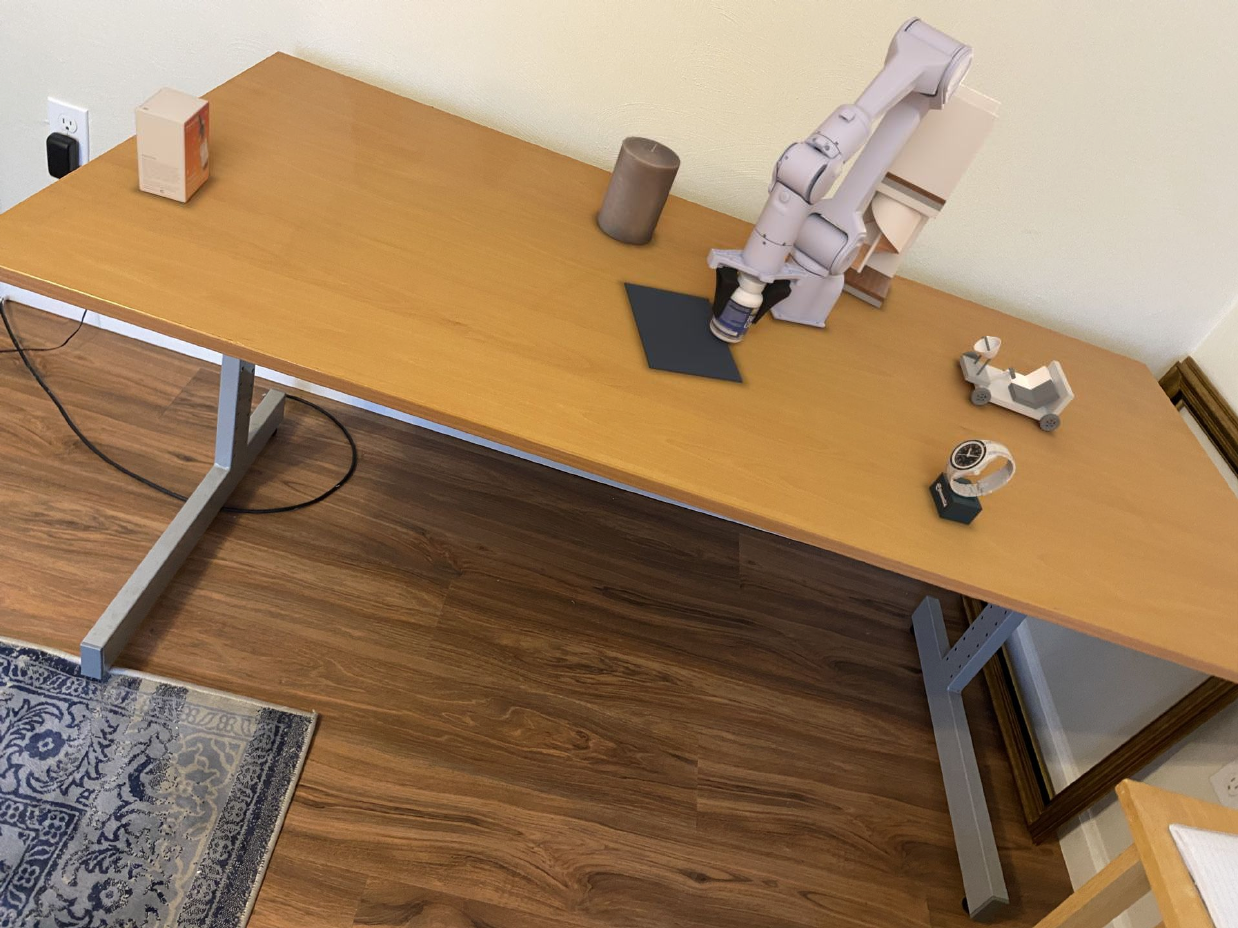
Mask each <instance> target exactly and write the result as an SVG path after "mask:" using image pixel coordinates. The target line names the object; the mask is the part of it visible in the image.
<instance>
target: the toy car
mask: <svg viewBox="0 0 1238 928" xmlns="http://www.w3.org/2000/svg"><path fill="white" fill-rule="evenodd" d="M1001 344H1002V340H1001V338H999V337H997V336H989V335H986V336H982V337H981V339H979V340H978V341H976V342H975V343H974V344H973V349H974V351H973V350H967V351H965V352H963V353H962V354H961V355H960V357H959V359H958V360H959V364H960V367H961V372H962V375H963V377H964V380H965V381H967V382H969V383H972V384H973V385H974V388H975V389H973V390H972V391H971V393H970V400H971V403H973V404H974V405H977V406H984V405H987V404H988V403H989V402H990V403H993V404H995V405H998V406H1001V407H1003V408H1005V409H1009V410H1011V411H1014V412H1016V413H1019V414H1022V415H1024V416H1027V417H1029V418H1032V419H1034V420H1037V421H1038V425H1039V427H1040V429H1041V430H1043V431H1045V432H1052V431H1056V430H1057V429H1058V428H1059V427H1060V426H1061V418H1060V416H1059V415H1060V414H1061V412H1063V411H1064V409H1065V408H1066V407H1067V406H1068V405H1069V404H1070V402H1071V401H1072V400H1073V399H1074V398H1075V395H1074V393H1073V390H1072V388H1071V386H1070V384H1069V381H1068V379H1067V377H1066V375H1065V373H1064V371H1063V368H1062V366H1061V364H1060V362H1059V361H1057V360H1054V359H1052V361H1051V362H1049V364H1048V365H1047V366H1046V365H1043V366H1041V367H1039V368H1038V369H1035V370H1034V371H1032V372H1030V373H1028V374H1027V375H1024V374H1021V373H1018V372H1017V371H1015V369H1014V366H1009V367H1008V368H1006V369H1005V370H1002V369H999V368H997V367H994V366H993V365H990V364H989V362H990V361H991V360H992V359H994V358H995V357H996V356H997V355H998V352H999V351H1000V349H1001V348H1000V347H1001ZM982 357H983V358H984V359H987V360H986V361H985V362H982V361H980V359H981V358H982Z"/></svg>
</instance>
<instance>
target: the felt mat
mask: <svg viewBox="0 0 1238 928" xmlns="http://www.w3.org/2000/svg"><path fill="white" fill-rule="evenodd" d="M624 288H625V291H626V294H627V298H628V301H629V304H630V306H631V310H632V314H633V318H634V321H635V324H636V329H637V331H638V334H639V338H640V341H641V344H642V348H643V351H644V354H645V357H646V361H647V365H648V368H649V369H652V370H657V371H658V370H659V371H665V372H672V373H677V374H684V375H689V376H697V377H704V378H709V379H714V380H715V379H716V380H720V381H721V380H722V381H729V382H734V383H741V384H743V382H744V381H743V377H742V376H741V373H740V371H739V369H738V365H737V364H736V361H735V359H734V356H733V354H732V352H731V349H730V346H729V344H728V342H727V341H724V340H722V339H720V338H718V337H717V336H716V335H715V334H714V333H713V332H712V331H711V328H710V323H711V320H712V318H713V316H714V313H713V311H712V306H713V304H712V303H711V300H710V298H707V297H703V296H696V295H692V294H687V293H682V292H677V291H671V290H666V289H662V288H656V287H651V286H647V285H640V284H635V283H632V282H631V283H630V282H625V281H624Z"/></svg>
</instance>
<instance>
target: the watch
mask: <svg viewBox="0 0 1238 928" xmlns="http://www.w3.org/2000/svg"><path fill="white" fill-rule="evenodd" d="M998 456H999V457H1003V458H1006V459H1007V460H1006V464H1005V465H1004V466H1003V467H1001V469H997V470H995V471H993V472H992V473H990V474H989V475H987V476H985V477H983V478H980V479H978V480H976V483H973V482H972V480H971V479H969V478H965V476H973V475H974V476H979V475H980V474H981V472H982V471H983V470H984V469H985V468H986V467H987V466H988V464H990V463H991V462H993V461H995V460H997V459H998ZM1016 466H1017V465H1016V462H1015V460H1014V458H1013V455H1012V454H1011V452H1010V450H1009V448H1008V447H1007V446H1006V445H1004V444H1002V443H1001V442H998V441H993V440H989V439H978V438H971V439H967V440H965V441H962V442H960V443H959V444H957V445H956V446H955V447H954V448H953V449H952V451H951V452H950V455H949V457H948V459H947V460H946V465H945V471H944V472H942V471H941V473H940V474H939V475H938V476H937V478H936V479H935V480H934V481H933V482H932V484H931V485H930V486H929V487H928V488H929V491H930V494H931V497H932V500H933V502H934V505H935V508H936V511H937V513H938V516H939V518H940V519H944V520H948V521H952V522H956V523H959V524H963V525H966V526H969V525H971V523H972V522H973V521H974V520H975V519H976V518H977V516H978V515H980V513H981V512H982V511H983V509H984V508H983V506H982V503H981V501H980V499H979V497H980V496H981V497H984V496H987V495H989V494H992V493H994V492H996V491H997V490H999V489H1001V488H1003V487H1005V486H1006V485H1007V484H1008V483H1010V482H1009V481H1010V480H1011V479H1012V478H1013V477H1014V474H1015V473H1016V468H1017V467H1016Z"/></svg>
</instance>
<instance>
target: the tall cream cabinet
mask: <svg viewBox="0 0 1238 928" xmlns="http://www.w3.org/2000/svg"><path fill="white" fill-rule="evenodd" d="M1001 105H1002V103H1001V101H998V100H996V99H994V98H992V97H990V96H988V95H985V94H984V93H981V92H979V91H977V90H975V89H973V88H971V87H969V86H967V85H965V84H963V83H961V84H960V86H959V87H958V89H957V90H956V92H955V93H954V95H953V96H952V98H951V99H950V101H949V102H948V103H947V104H946V105H945V106H944V108H943V109H942V110H929V112H928V113H927V114H926V115H925V117H924V118H923V119H922V120H921V122H920V123H919V125H918V126H917V128H916V129H915V131H914V132H913V134H912V135H911V137H910V138H909V140H908V141H907V143H906V144H905V146H904V148H903V149H902V151H901V152H900V154H899V155H898V157H897V158H896V160H895V161H894V163H893V164H892V166H891V167H890V169H889V170H888V172H887V173H886V175H885V177H884V178H883V180H882V181H881V183H880V184H879V186H878V187H877V189H876V190H875V192H874V193H873V195H872V196H871V198H870V199H869V201H868V202H867V204H866V206H865V207H864V209H863V210H862V212H861V215H862V219H863V222H864V225H865V228H866V232H867V236H866V239H865V241H864V242H863V244H862V246H861V248H860V250H859V253H858V255H857V257H856V258H855V260H854V261H853V263H852V264H851V265H850V267H849V268H848V269H847V270H846V271H845V272H844V273H843V274H844V285H843V289H842V291H845V292H847V293H849V294H850V295H853V296H854V297H856V298H859V299H861V300H863V301H864V302H866V303H869V304H870V305H873V306H874V307H876V308H878V309H880V307H881V306H882V305H883V303H884V301H885V300H886V297H887V294H888V292H889V288H890V285H891V284H892V283H891V282H892V279H893V278H894V276H895V275H896V273H897V271H898V270H899V268H900V266H901V265H902V263H903V262H904V260H905V258H906V257H907V255H908V253H909V252H910V250H911V249H912V247H913V246H914V244H915V242H916V241H917V239H918V237H919V236H920V234H921V233H922V232H923V229H924V228H925V227H926V225H927V224H928V222H929V220H930V219H931V218H932V219H934V220H936V219H937V217H939V216H938V215H939V214H940V212H941V211H942V209H943V208H944V206H945V205H946V203H947V201H948V200H949V199H950V196H951V195H952V194H953V192H954V190H955V189H956V187H957V186H958V184H959V182H960V181H961V179H962V178H963V176H964V174H965V173H966V171H967V170H968V168H969V167H970V165H971V163H972V162H973V161H974V159H975V157H976V155H977V154H978V153H979V151H980V149H981V148H982V146H983V145H984V143H985V141H986V140H987V138H988V136H989V135H990V134H991V132H992V131H993V129H994V127H995V125H996V124H997V122H998V121H999V119H1000V115H997V114H996V113H997V112H998V110H999V108H1000V107H1001ZM845 232H846V231H845ZM846 233H847V232H846Z"/></svg>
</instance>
